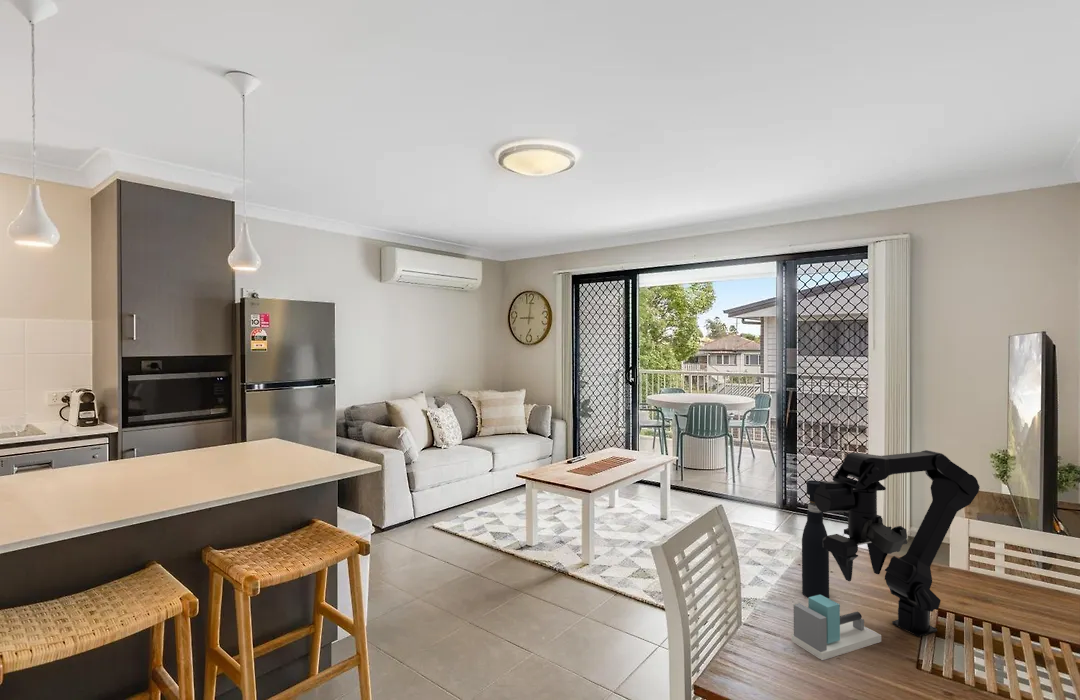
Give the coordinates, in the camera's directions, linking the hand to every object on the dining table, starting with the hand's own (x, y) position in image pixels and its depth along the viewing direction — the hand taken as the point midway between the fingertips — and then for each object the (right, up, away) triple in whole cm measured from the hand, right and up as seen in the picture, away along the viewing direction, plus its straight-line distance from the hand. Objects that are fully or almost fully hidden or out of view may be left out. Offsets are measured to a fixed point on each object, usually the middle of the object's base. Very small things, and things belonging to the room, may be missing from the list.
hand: (862, 577), depth 124 cm
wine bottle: (-1, -13, +19) cm, 23 cm away
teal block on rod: (-11, -11, -4) cm, 16 cm away
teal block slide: (-8, -13, -3) cm, 16 cm away
